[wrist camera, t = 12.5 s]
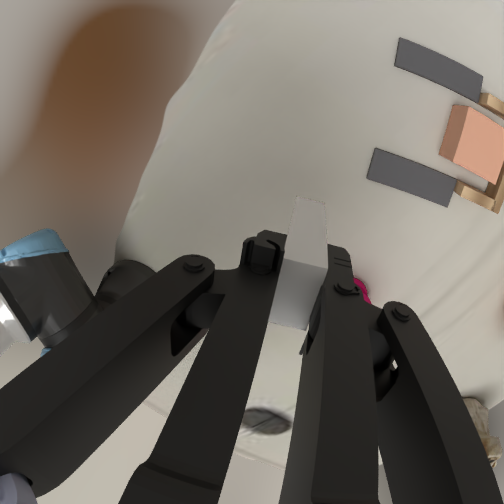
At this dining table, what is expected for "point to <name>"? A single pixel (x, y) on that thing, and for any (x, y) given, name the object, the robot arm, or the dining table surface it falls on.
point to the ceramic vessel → (484, 429)
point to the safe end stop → (500, 190)
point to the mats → (406, 171)
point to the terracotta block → (474, 142)
